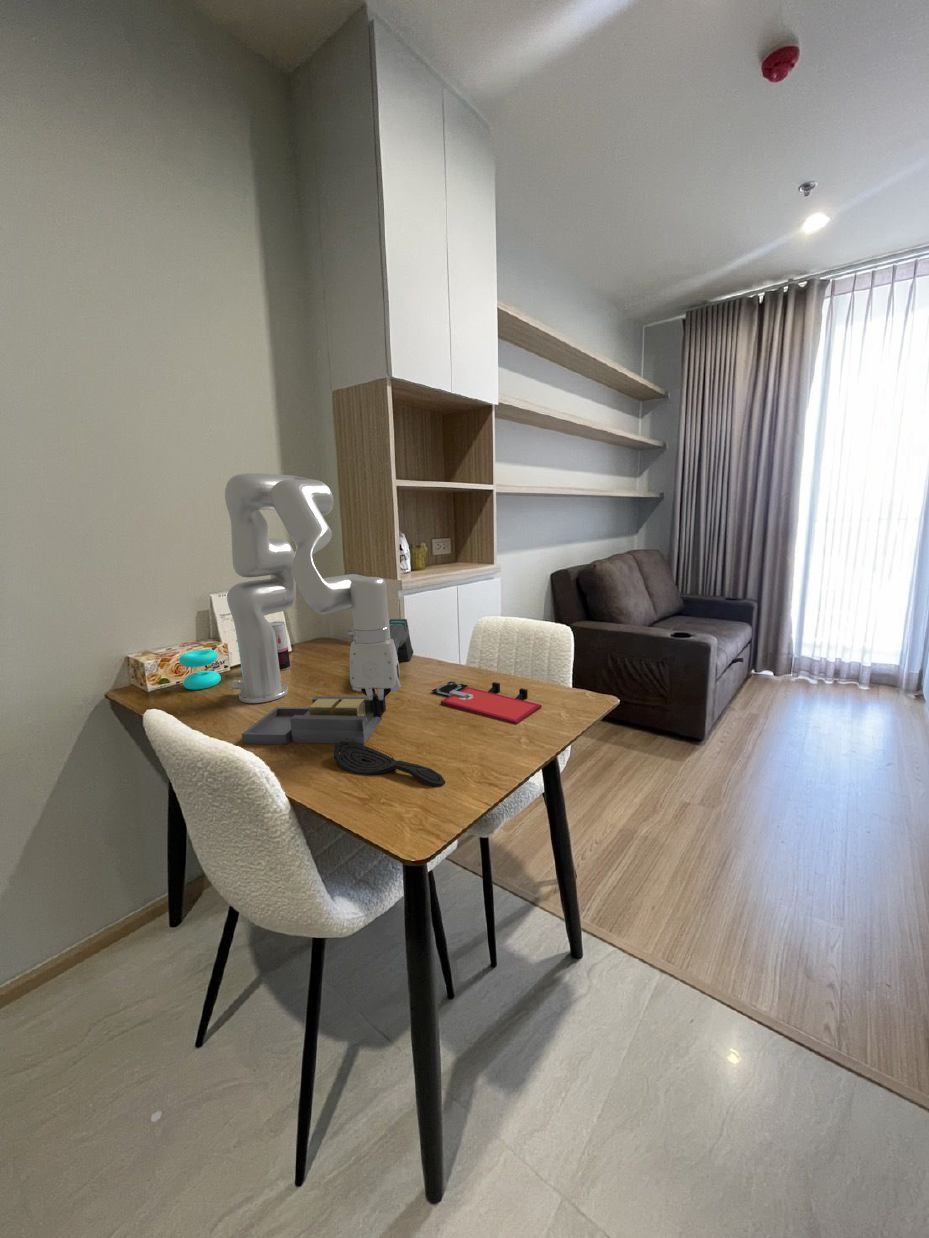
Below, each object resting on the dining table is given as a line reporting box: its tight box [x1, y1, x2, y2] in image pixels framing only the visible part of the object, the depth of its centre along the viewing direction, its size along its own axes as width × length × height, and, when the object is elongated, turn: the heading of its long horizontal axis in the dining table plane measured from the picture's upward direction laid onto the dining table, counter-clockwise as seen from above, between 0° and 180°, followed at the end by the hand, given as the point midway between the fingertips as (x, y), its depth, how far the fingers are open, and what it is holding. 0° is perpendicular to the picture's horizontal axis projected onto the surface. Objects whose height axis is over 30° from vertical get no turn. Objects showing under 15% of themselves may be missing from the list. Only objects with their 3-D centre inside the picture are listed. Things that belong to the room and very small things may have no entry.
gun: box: [389, 618, 414, 662], centre depth 152 cm, size 7×29×15 cm, turn 169°
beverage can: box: [269, 621, 291, 672], centre depth 158 cm, size 6×7×15 cm
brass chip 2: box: [335, 699, 366, 716], centre depth 110 cm, size 5×5×4 cm
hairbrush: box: [333, 738, 446, 788], centre depth 93 cm, size 8×4×25 cm
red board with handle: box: [431, 680, 543, 725], centre depth 125 cm, size 30×3×15 cm
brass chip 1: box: [308, 699, 339, 716], centre depth 111 cm, size 5×5×4 cm
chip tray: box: [241, 706, 309, 745], centre depth 113 cm, size 10×15×2 cm, turn 173°
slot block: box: [290, 695, 383, 745], centre depth 111 cm, size 16×13×6 cm
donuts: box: [178, 649, 222, 691], centre depth 146 cm, size 10×10×10 cm
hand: (378, 714), depth 109 cm, fingers closed
